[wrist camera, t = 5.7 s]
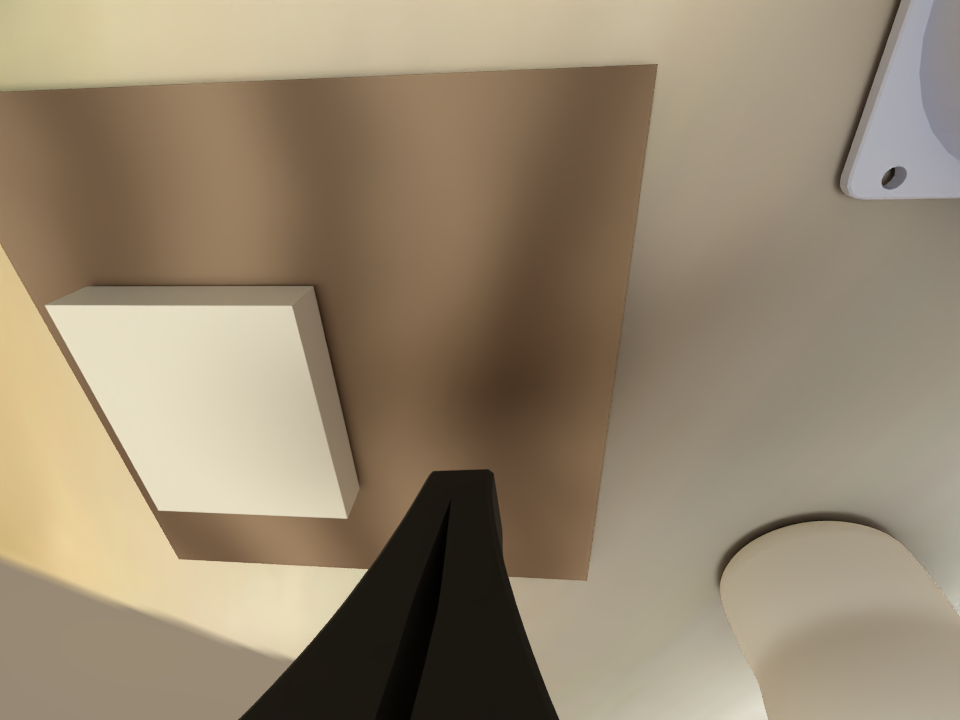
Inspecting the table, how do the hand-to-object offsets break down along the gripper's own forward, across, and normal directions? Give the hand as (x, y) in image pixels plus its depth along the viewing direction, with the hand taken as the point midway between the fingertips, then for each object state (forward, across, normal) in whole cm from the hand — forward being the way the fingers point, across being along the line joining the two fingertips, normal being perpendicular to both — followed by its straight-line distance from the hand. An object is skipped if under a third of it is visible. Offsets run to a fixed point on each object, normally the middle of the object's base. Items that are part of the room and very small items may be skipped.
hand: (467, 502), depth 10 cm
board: (+6, +5, 0) cm, 8 cm away
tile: (+4, +5, 0) cm, 6 cm away
